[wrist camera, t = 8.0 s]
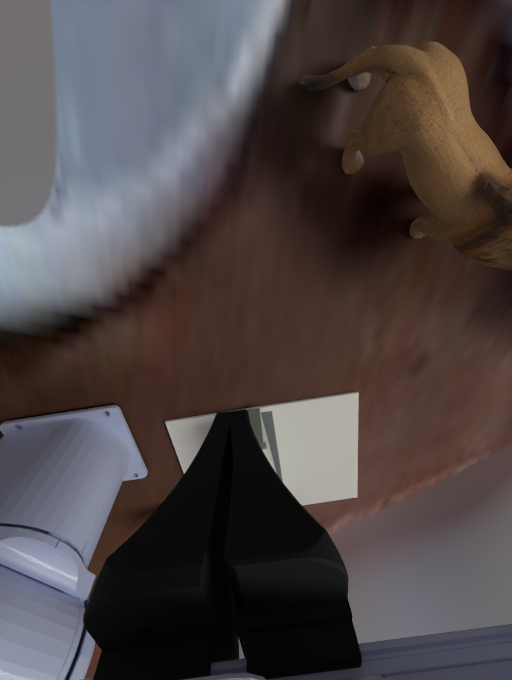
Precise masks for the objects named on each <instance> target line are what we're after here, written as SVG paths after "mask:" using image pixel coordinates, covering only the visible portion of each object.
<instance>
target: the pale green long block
mask: <svg viewBox="0 0 512 680" xmlns="http://www.w3.org/2000/svg"><path fill="white" fill-rule="evenodd" d="M247 411H248V413H249V419H250V423H251V426H252V429H253V431H254V434H255V436H256V438H257V440H258V442H259V445H260V447H261V448H262V450H263V452H264V454H265V456H266V458H267V459H268V461H269V463H270V464H271V466H272V467H273V469H274V470H275V472H276V468H275V464H274V461H273V457H272V453H271V449H270V446H269V442H268V438H267V434H266V430H265V427H264V423H263V419H262V415H261V412H260V408H257V409H252V410H247ZM276 473H277V472H276Z"/></svg>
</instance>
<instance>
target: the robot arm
mask: <svg viewBox="0 0 512 680" xmlns="http://www.w3.org/2000/svg"><path fill="white" fill-rule="evenodd" d="M105 411H107V412H109V413H106V412H105ZM0 431H1V432H2V433H3V435H4V436H3V437H2V438H1V439H0V680H512V624H509V625H501V626H494V627H485V628H477V629H470V630H462V631H454V632H447V633H439V634H431V635H424V636H415V637H407V638H400V639H392V640H384V641H376V642H369V643H361V644H358V641H357V637H356V634H355V630H354V626H353V623H352V613H351V609H350V605H349V602H348V598H347V597H348V596H347V595H348V574H347V570H346V568H345V565H344V563H343V560H342V558H341V556H340V554H339V552H338V550H337V548H336V546H335V545H334V543H333V541H332V539H331V538H330V536H329V534H328V532H327V531H326V530H325V529H324V528H323V527H322V526H321V525H320V524H319V523H318V522H317V521H316V520H315V519H314V518H313V517H312V516H311V515H310V514H309V513H308V512H307V510H306V509H305V508H304V507H303V506H302V505H301V504H300V503H299V502H298V500H297V499H296V498H295V497H294V496H293V494H292V493H291V492H290V491H289V489H288V488H287V487H286V486H285V485H284V483H283V482H282V480H281V479H280V478H279V476H278V475H277V473H276V472H275V470H274V469H273V467H272V466H271V464H270V463H269V461H268V459H267V458H266V456H265V454H264V452H263V450H262V448H261V447H260V445H259V442H258V440H257V438H256V436H255V434H254V431H253V429H252V426H251V423H250V419H249V413H248V411H247V410H246V409H243V410H235V411H227V412H219V413H217V414H216V415H215V418H214V421H213V423H212V425H211V427H210V430H209V432H208V434H207V436H206V438H205V440H204V442H203V444H202V445H201V447H200V449H199V451H198V453H197V454H196V456H195V458H194V459H193V461H192V463H191V464H190V466H189V468H188V469H187V471H186V472H185V474H184V475H183V477H182V478H181V479H180V481H179V482H178V484H177V485H176V486H175V488H174V489H173V490H172V491H171V493H170V494H169V495H168V497H167V498H166V499H165V500H164V502H163V503H162V504H161V505H160V506H159V507H158V509H157V510H156V511H155V512H154V513H153V514H152V515H151V516H150V517H149V518H148V519H147V521H146V522H145V523H144V524H143V525H142V526H141V527H140V528H139V529H138V530H137V531H136V532H135V533H134V534H133V535H132V536H131V537H130V538H129V539H128V540H127V541H126V542H125V543H123V544H122V545H121V546H120V547H119V548H118V549H117V550H116V551H115V552H114V553H113V554H111V555H110V556H109V557H108V558H107V559H106V561H105V563H104V566H103V568H102V570H101V572H100V574H99V576H98V578H97V581H96V583H95V585H94V588H93V591H92V594H91V596H90V597H88V595H89V592H90V590H91V587H92V584H93V582H94V579H95V575H94V574H92V573H91V572H89V571H88V570H87V567H88V565H89V563H90V560H91V558H92V555H93V553H94V550H95V548H96V545H97V543H98V540H99V538H100V535H101V533H102V530H103V528H104V525H105V523H106V521H107V518H108V516H109V513H110V511H111V508H112V506H113V503H114V501H115V498H116V496H117V493H118V491H119V488H120V486H121V483H122V481H127V480H134V479H140V478H145V477H146V476H147V473H148V471H147V468H146V466H145V464H144V461H143V459H142V457H141V455H140V452H139V450H138V448H137V446H136V443H135V441H134V439H133V436H132V434H131V432H130V430H129V427H128V425H127V423H126V420H125V418H124V416H123V414H122V411H121V409H120V408H119V407H118V406H116V405H109V406H102V407H96V408H89V409H83V410H76V411H70V412H63V413H57V414H51V415H44V416H38V417H31V418H25V419H18V420H12V421H5V422H3V423H2V424H1V425H0ZM135 473H136V474H135ZM238 636H239V639H240V643H241V646H242V649H243V653H244V656H245V658H244V659H239V642H238ZM95 642H96V643H97V644H98V646H99V647H100V648H101V649H102V652H101V655H100V659H99V662H98V666H97V669H96V672H95V675H94V678H89V679H84V677H85V675H86V672H87V669H88V666H89V664H90V661H91V657H92V654H93V650H94V646H95Z"/></svg>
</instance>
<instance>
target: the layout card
mask: <svg viewBox="0 0 512 680" xmlns="http://www.w3.org/2000/svg"><path fill="white" fill-rule="evenodd" d="M358 394H359V393H358V391H356V392H349V393H343V394H336V395H330V396H323V397H317V398H310V399H304V400H297V401H291V402H284V403H278V404H271V405H264V406H258V407H251V408H245V409H246V410H252V409H257V408H260V412H261V415H262V419H263V423H264V427H265V430H266V434H267V438H268V442H269V446H270V449H271V453H272V457H273V461H274V464H275V468H276V472H277V475H278V476H279V478H280V479H281V480H282V482H283V483H284V485H285V486H286V487H287V488H288V489H289V491H290V492H291V493H292V494H293V496H294V497H295V498H296V499H297V500H298V502H299V503H300V504H301V505H308V504H315V503H321V502H328V501H335V500H341V499H348V498H355V497H357V478H358ZM238 410H243V409H238ZM232 411H235V410H232ZM225 412H227V411H225ZM216 414H217V413H212V414H206V415H199V416H193V417H186V418H180V419H173V420H167V421H165V423H166V426H167V429H168V432H169V434H170V437H171V440H172V443H173V445H174V448H175V451H176V454H177V456H178V459H179V462H180V465H181V467H182V470H183V473H184V474H185V472H186V471H187V469H188V468H189V466H190V464H191V463H192V461H193V459H194V458H195V456H196V454H197V453H198V451H199V449H200V447H201V445H202V444H203V442H204V440H205V438H206V436H207V434H208V432H209V430H210V427H211V425H212V423H213V421H214V418H215V415H216Z"/></svg>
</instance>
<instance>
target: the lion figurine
mask: <svg viewBox="0 0 512 680" xmlns="http://www.w3.org/2000/svg"><path fill="white" fill-rule="evenodd" d="M371 74H374V75H377V76H378V77H380V78H382V79H383V80H384V81H386V84H385V85H384V86H383V88H382V89H381V90H380V92H379V93H378V95H377V96H376V98H375V99H374V101H373V103H372V105H371V107H370V109H369V111H368V113H367V116H366V118H365V120H364V122H363V124H362V126H361V127H359V128H352V129H351V130H350V131H349V132H348V135H347V142H346V147H345V150H344V152H343V156H342V168H343V171H344V172H345V173H346V174H347V175H354V174H355V173H357V172H358V171H359V170H360V168H361V167H362V166H363V164H364V160H363V157H362V155H361V153H360V152H359V150H361V151H364V152H368V153H371V154H374V155H381V154H384V153H387V152H393V151H399V152H400V153H401V154H402V156H403V159H404V165H405V170H406V173H407V177H408V180H409V183H410V185H411V187H412V188H413V190H414V191H415V193H416V195H417V196H418V198H419V199H420V200H421V201H422V202H423V203H424V204H425V205H426V206H427V207H428V208H429V209H430V210H431V211H432V212H433V213H434V214H435V215H436V216H435V217H434V218H433V219H430V218H427V217H418V218H417V219H416V220H415V221H413V222H412V224H411V226H410V231H409V233H410V236H411V237H412V238H421V237H423V236H426V235H427V236H429V237H431V238H432V239H434V240H437V241H450V242H452V243H453V247H455V248H456V249H457V250H458V251H459V252H460V253H461V254H462V255H463V257H464V258H466V259H468V260H476V261H478V262H479V263H480V264H482V265H486V266H492V267H498V268H503V269H505V270H512V168H509V167H508V166H507V165H506V163H505V162H504V160H503V159H502V157H501V155H500V153H499V151H498V150H497V148H496V147H495V145H494V144H493V142H492V141H491V139H490V138H489V136H488V135H487V134H486V133H485V132H484V131H483V130H482V129H481V128H480V127H479V126H478V124H477V123H476V121H475V119H474V117H473V115H472V113H471V109H470V103H469V93H468V85H467V79H466V75H465V72H464V69H463V66H462V64H461V62H460V60H459V59H458V58H457V57H456V56H455V55H454V54H453V53H452V52H450V51H449V50H448V49H447V48H446V47H444V46H443V45H441V44H439V43H438V42H426V43H422V44H420V45H418V46H416V47H414V48H413V47H410V46H406V45H384V46H380V47H377V48H376V47H374V46H372V47H370V48H368V49H366V50H365V51H363V52H362V53H360V54H359V55H358V56H356V57H355V58H353V59H352V60H350V61H349V62H347V63H346V64H345V65H343V66H342V67H340V68H338V69H337V70H334V71H332V72H330V73H328V74H326V75H322V76H317V75H314V76H313V75H305V76H303V77H301V80H300V84H301V85H303V86H304V87H306V89H308V90H310V91H318V90H322V89H325V88H329V87H331V86H333V85H335V84H337V83H339V82H341V81H343V80H345V79H348V82H349V84H350V86H351V87H352V88H354V89H355V90H361V89H363V88H366V87H367V86H368V85H369V83H370V77H371Z"/></svg>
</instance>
